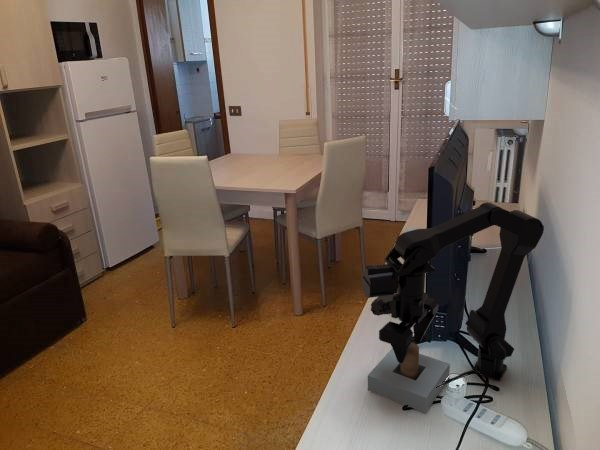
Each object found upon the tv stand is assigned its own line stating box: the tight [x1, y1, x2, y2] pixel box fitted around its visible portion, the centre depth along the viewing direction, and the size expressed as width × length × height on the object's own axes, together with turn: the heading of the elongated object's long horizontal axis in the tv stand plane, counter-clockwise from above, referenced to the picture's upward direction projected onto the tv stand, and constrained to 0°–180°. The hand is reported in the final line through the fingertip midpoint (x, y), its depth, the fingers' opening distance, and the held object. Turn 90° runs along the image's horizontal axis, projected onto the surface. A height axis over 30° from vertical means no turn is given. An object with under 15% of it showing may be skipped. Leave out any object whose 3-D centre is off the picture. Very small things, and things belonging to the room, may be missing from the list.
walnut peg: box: [400, 342, 420, 380], centre depth 107 cm, size 4×4×10 cm
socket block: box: [367, 347, 451, 414], centre depth 108 cm, size 14×14×4 cm
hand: (409, 351), depth 106 cm, fingers open, 9 cm apart
